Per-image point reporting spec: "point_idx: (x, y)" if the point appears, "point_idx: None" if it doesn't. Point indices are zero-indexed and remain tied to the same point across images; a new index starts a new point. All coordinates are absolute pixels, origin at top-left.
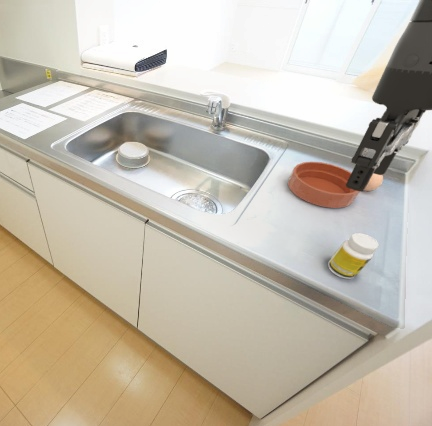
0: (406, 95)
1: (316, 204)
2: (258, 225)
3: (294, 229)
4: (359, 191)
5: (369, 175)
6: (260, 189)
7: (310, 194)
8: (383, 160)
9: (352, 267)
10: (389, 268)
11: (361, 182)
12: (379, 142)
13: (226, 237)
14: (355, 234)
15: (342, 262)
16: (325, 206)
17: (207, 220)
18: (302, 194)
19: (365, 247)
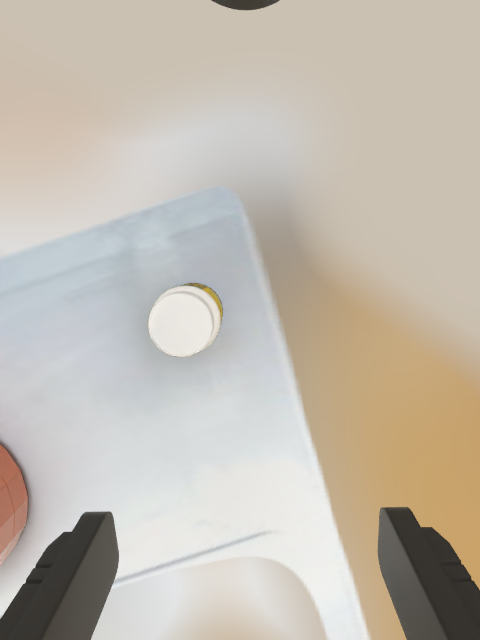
0: None
1: (17, 467)
2: (222, 498)
3: (158, 442)
4: None
5: (458, 596)
6: None
7: (11, 505)
8: (77, 609)
9: (216, 298)
10: (93, 248)
11: (460, 565)
12: None
13: (322, 512)
14: (175, 352)
15: (221, 320)
16: (4, 449)
17: (312, 574)
18: (20, 515)
19: (208, 312)
